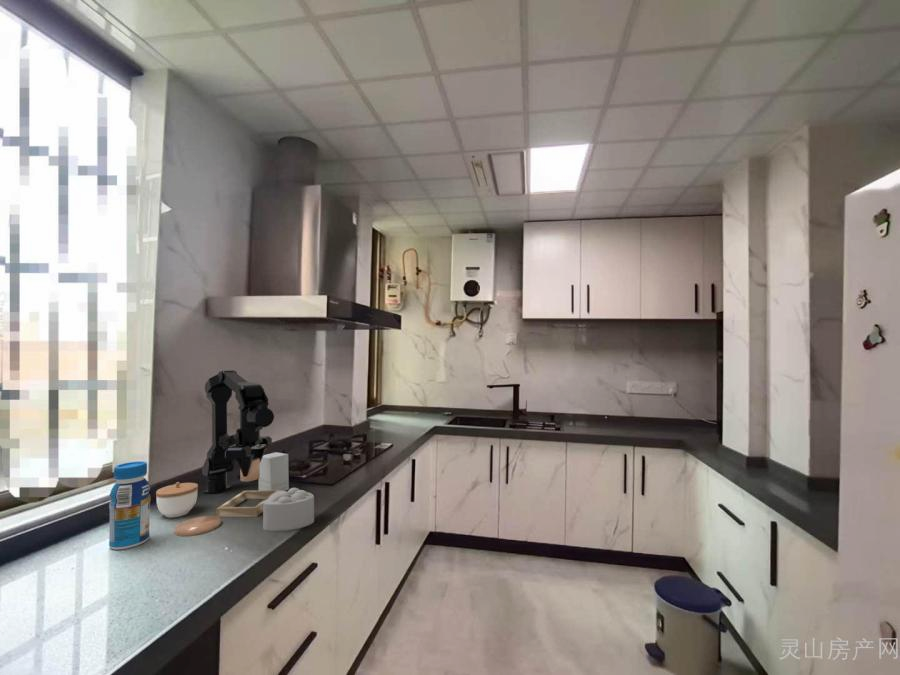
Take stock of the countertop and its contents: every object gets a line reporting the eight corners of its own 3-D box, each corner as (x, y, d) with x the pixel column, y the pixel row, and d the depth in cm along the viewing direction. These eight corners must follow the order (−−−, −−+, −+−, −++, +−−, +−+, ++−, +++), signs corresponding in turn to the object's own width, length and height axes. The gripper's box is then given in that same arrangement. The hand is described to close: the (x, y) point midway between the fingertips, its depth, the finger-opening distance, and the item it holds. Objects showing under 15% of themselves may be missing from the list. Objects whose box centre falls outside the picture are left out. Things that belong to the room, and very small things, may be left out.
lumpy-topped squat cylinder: (274, 516, 120) (274, 486, 120) (318, 515, 121) (318, 485, 121) (259, 531, 110) (259, 499, 110) (308, 529, 110) (307, 497, 111)
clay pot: (245, 476, 131) (245, 457, 132) (262, 476, 131) (262, 457, 132) (236, 481, 126) (236, 461, 126) (254, 481, 126) (254, 461, 126)
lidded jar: (148, 517, 122) (148, 485, 122) (185, 505, 131) (185, 475, 131) (168, 523, 117) (168, 490, 117) (205, 510, 126) (205, 479, 126)
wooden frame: (243, 498, 136) (243, 490, 136) (279, 497, 136) (279, 490, 136) (216, 517, 120) (216, 508, 120) (256, 516, 120) (256, 507, 120)
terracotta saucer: (191, 519, 119) (191, 516, 119) (228, 519, 119) (228, 515, 119) (164, 536, 108) (164, 532, 108) (206, 535, 108) (206, 531, 108)
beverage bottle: (100, 547, 102) (101, 467, 103) (136, 534, 110) (138, 459, 111) (121, 553, 99) (123, 470, 100) (157, 538, 107) (158, 461, 107)
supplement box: (289, 489, 144) (289, 453, 145) (270, 496, 138) (270, 458, 139) (276, 486, 148) (276, 451, 149) (257, 492, 142) (257, 456, 143)
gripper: (239, 420, 139) (239, 466, 138) (207, 430, 120) (206, 483, 119) (272, 419, 139) (272, 465, 138) (244, 429, 120) (244, 482, 119)
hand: (249, 473), depth 129 cm, fingers closed on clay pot, 5 cm apart
